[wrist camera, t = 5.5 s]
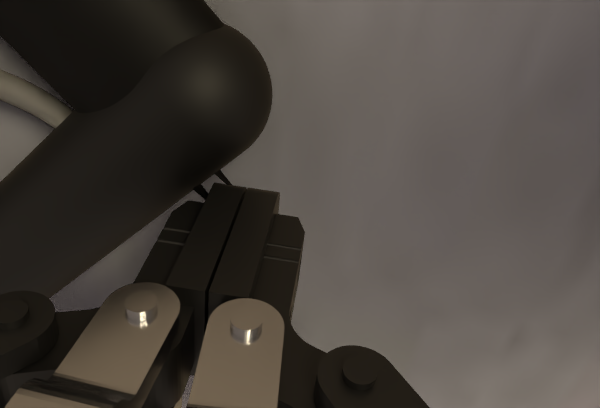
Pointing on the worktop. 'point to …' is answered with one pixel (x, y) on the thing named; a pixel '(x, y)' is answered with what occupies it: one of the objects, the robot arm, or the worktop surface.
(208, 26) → the door handle
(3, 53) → the worktop surface
